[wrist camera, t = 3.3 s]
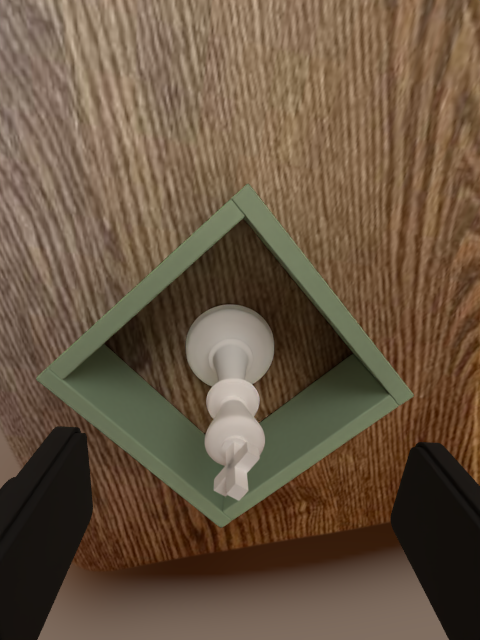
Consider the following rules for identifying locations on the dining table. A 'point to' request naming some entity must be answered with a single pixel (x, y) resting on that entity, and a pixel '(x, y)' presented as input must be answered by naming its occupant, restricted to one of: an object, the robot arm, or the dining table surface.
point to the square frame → (279, 428)
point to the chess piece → (231, 387)
